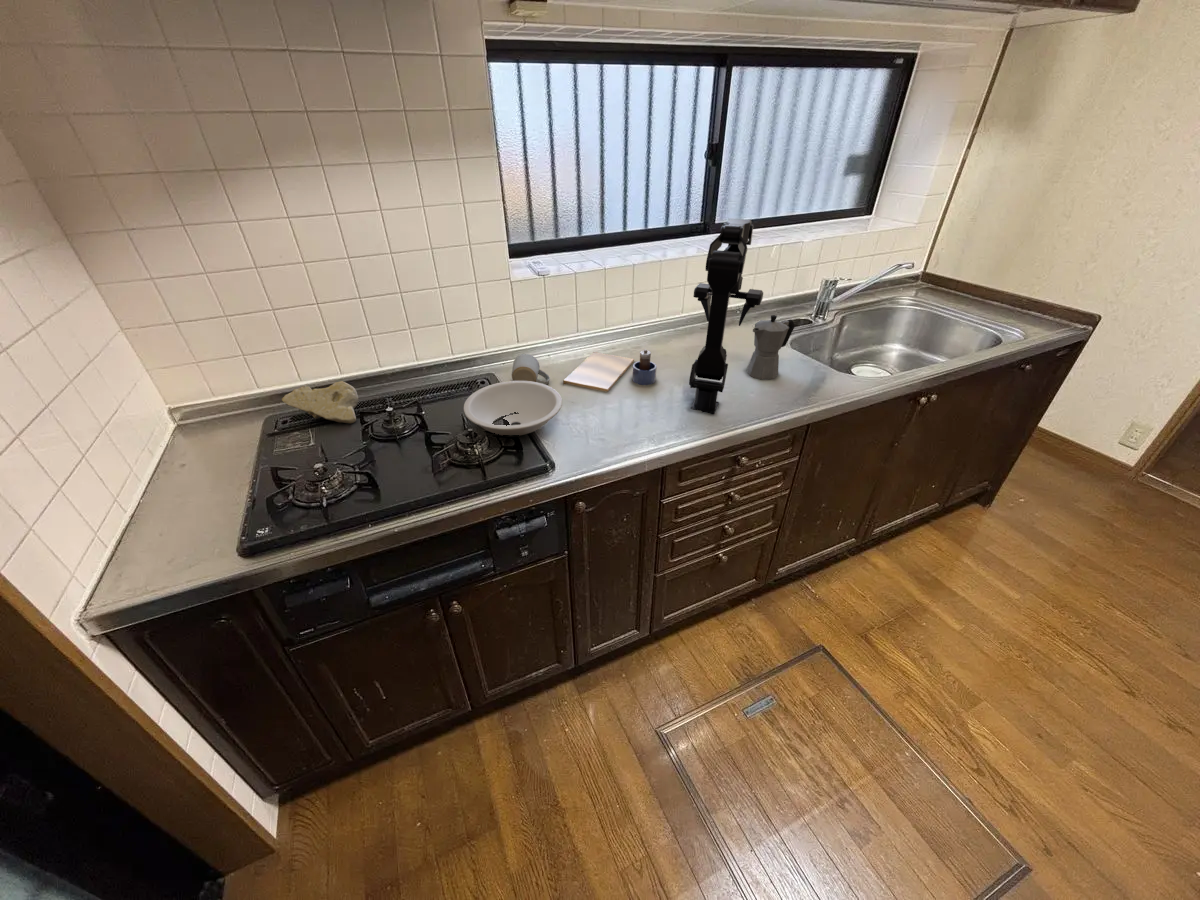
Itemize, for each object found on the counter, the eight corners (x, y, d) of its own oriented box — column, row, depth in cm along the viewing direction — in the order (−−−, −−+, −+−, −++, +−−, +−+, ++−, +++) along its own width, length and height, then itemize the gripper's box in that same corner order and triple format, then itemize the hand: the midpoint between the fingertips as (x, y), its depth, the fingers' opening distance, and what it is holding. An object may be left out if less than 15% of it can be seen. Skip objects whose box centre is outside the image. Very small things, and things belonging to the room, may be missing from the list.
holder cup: (651, 388, 143) (652, 372, 140) (628, 383, 145) (629, 368, 143) (658, 378, 148) (659, 363, 145) (636, 374, 151) (637, 359, 148)
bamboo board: (607, 393, 141) (607, 389, 140) (563, 384, 145) (563, 380, 145) (634, 362, 157) (634, 358, 157) (593, 355, 162) (593, 351, 161)
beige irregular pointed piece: (376, 417, 134) (343, 373, 134) (370, 409, 127) (335, 363, 127) (324, 450, 129) (289, 404, 129) (314, 444, 122) (278, 396, 122)
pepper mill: (647, 382, 145) (649, 352, 140) (637, 380, 146) (638, 350, 141) (650, 378, 147) (652, 348, 142) (640, 376, 148) (642, 346, 143)
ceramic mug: (512, 390, 142) (509, 365, 138) (514, 377, 149) (512, 353, 144) (549, 389, 143) (548, 365, 138) (550, 376, 149) (549, 352, 145)
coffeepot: (755, 384, 146) (767, 324, 135) (734, 371, 152) (744, 313, 142) (795, 373, 151) (809, 315, 141) (773, 361, 158) (785, 305, 148)
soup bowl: (582, 425, 126) (582, 403, 123) (504, 465, 113) (501, 440, 109) (525, 393, 141) (523, 371, 137) (449, 424, 127) (444, 401, 123)
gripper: (770, 265, 141) (760, 319, 150) (705, 258, 147) (698, 310, 156) (765, 274, 133) (754, 331, 141) (696, 267, 138) (690, 322, 147)
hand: (723, 323), depth 147 cm, fingers open, 9 cm apart
